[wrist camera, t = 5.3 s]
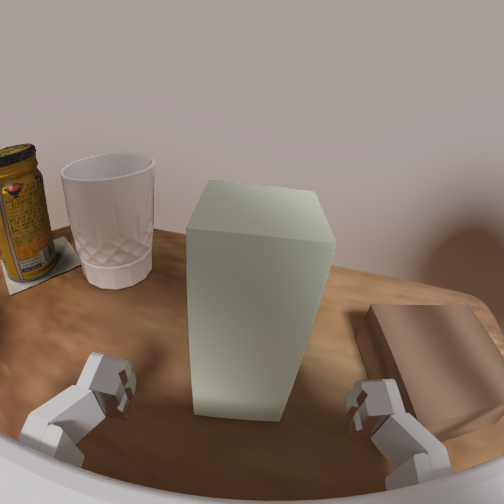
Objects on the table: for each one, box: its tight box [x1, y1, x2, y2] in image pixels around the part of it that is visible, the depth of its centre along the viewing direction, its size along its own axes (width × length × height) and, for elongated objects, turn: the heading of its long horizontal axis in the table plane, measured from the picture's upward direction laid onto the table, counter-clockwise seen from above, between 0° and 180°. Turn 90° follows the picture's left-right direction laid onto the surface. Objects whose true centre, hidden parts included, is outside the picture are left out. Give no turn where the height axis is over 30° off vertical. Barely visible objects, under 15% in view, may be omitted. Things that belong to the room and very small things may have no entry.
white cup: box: [61, 152, 155, 290], centre depth 25 cm, size 8×8×10 cm
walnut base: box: [356, 304, 504, 442], centre depth 18 cm, size 10×10×4 cm
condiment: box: [0, 144, 81, 295], centre depth 23 cm, size 7×8×12 cm
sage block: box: [186, 180, 337, 422], centre depth 15 cm, size 5×5×12 cm
